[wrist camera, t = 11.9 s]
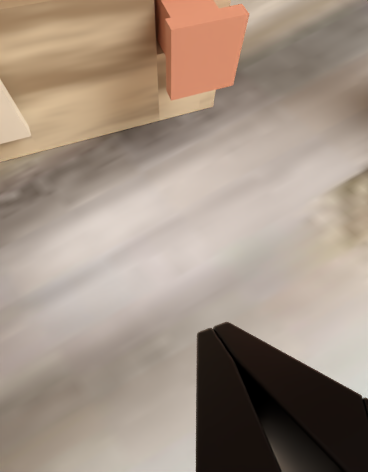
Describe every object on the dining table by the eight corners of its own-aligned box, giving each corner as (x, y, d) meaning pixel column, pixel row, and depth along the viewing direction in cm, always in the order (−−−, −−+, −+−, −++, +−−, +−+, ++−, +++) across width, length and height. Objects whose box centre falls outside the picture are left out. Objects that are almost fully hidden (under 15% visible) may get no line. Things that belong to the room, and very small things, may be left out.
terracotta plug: (233, 85, 21) (249, 14, 17) (171, 100, 21) (171, 29, 16) (175, -10, 26) (176, -87, 21) (122, 0, 25) (111, -78, 20)
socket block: (212, 106, 29) (236, -31, 19) (-26, 168, 25) (-160, 37, 15) (173, 36, 33) (175, -111, 22) (-38, 80, 29) (-152, -73, 19)
